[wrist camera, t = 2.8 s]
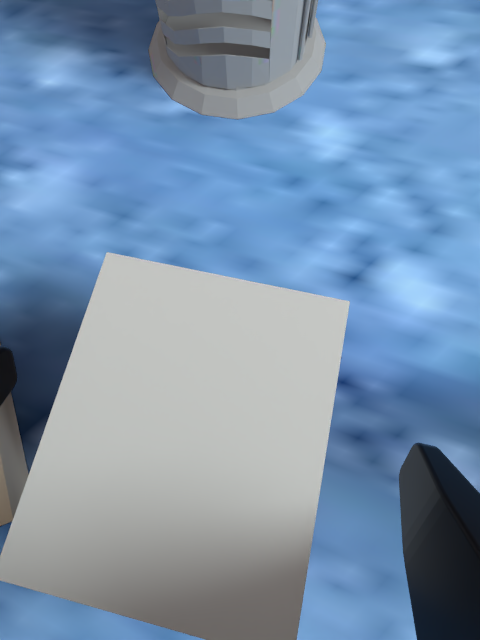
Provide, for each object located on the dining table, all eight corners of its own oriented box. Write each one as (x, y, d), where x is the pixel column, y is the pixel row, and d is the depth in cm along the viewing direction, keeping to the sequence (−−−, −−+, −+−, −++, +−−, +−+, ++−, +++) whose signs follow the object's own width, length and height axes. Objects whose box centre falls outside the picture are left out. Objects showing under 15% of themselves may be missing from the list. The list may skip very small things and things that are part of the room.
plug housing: (267, 522, 14) (292, 664, 6) (142, 491, 15) (-8, 578, 6) (295, 369, 16) (350, 301, 7) (182, 344, 16) (106, 252, 8)
